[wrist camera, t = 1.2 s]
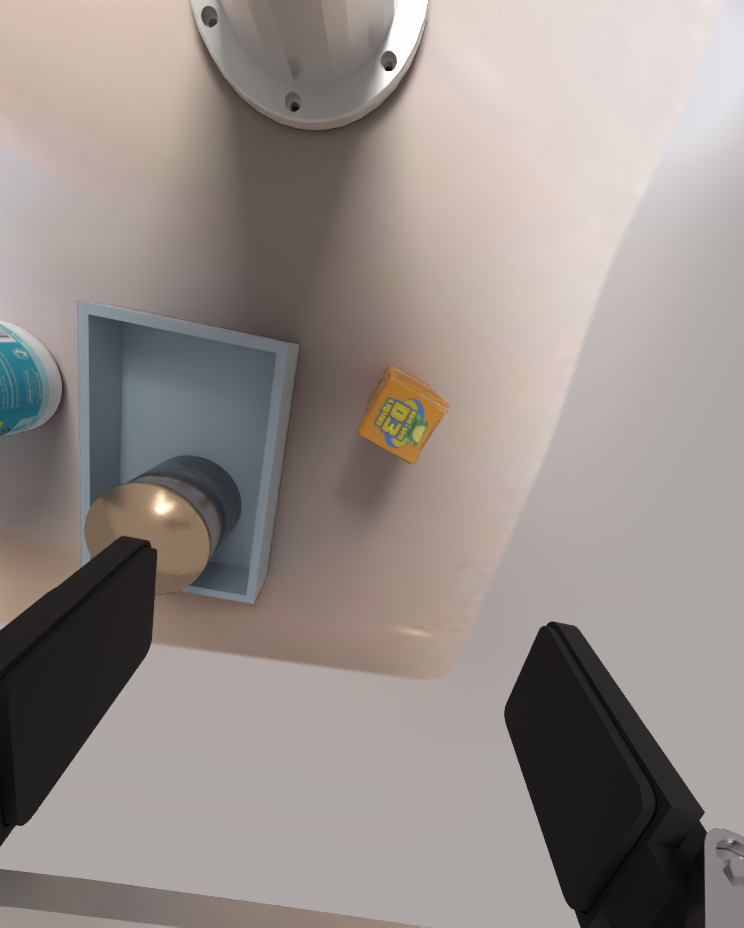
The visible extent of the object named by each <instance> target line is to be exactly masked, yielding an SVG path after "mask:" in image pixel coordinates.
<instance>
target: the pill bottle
mask: <svg viewBox="0 0 744 928" xmlns="http://www.w3.org/2000/svg"><path fill="white" fill-rule="evenodd" d="M61 395H62V381H61V376H60V373H59V370H58V367H57V365H56V363H55V361H54V359H53V357H52V356H51V354H50V353H49V351H48V350H47V349H46V348H45V346H44V345H43V344H42V343H41V342H40V341H39V340H38V339H37V338H35V337H34V336H33V335H31V334H30V333H29V332H27V331H25V330H24V329H22V328H20V327H18V326H16V325H13V324H11V323H8V322H4V321H0V438H1V437H5V436H9V435H13V434H17V433H20V432H24V431H28V430H31V429H34V428H36V427H38V426H40V425H42V424H44V423H45V422H46V421H48V420H49V419H50V418H51V417H52V416H53V414H54V413H55V412H56V410H57V408H58V406H59V403H60V400H61Z"/></svg>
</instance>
